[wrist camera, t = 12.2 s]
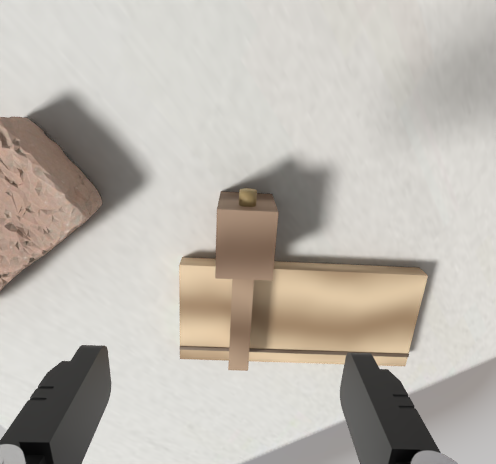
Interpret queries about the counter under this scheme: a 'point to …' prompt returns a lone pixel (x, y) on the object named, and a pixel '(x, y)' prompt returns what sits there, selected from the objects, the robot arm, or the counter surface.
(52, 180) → the brick
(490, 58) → the counter surface
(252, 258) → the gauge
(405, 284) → the board
